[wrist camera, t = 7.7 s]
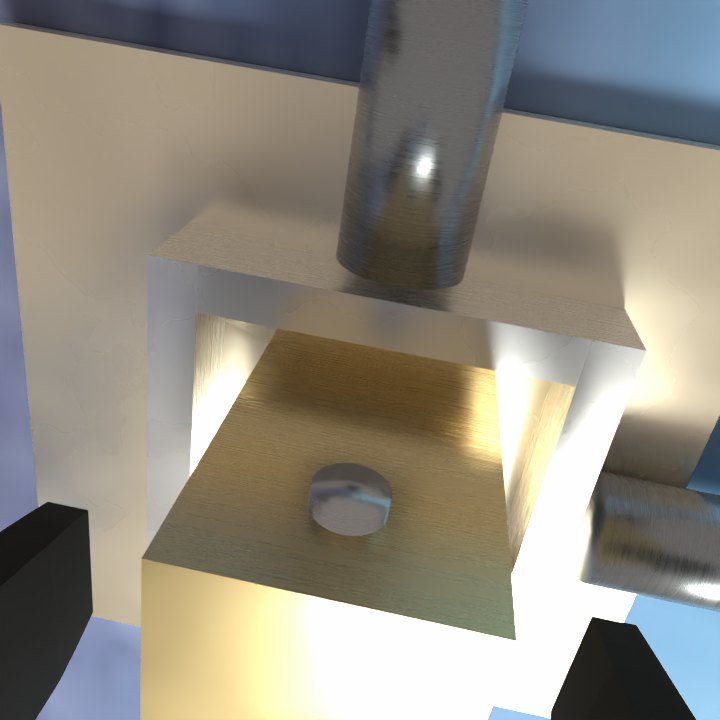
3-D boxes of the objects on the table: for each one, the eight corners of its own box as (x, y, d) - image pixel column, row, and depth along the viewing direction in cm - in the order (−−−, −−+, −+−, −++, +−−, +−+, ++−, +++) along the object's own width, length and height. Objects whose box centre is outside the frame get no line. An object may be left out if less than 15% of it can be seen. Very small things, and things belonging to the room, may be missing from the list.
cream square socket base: (60, 588, 17) (-2, 676, 15) (1, -148, 10) (-131, -191, 8) (696, 728, 17) (733, 843, 14) (1114, 32, 9) (1321, 40, 7)
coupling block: (258, 508, 15) (140, 793, 9) (280, 311, 12) (141, 537, 7) (445, 548, 14) (432, 863, 9) (499, 356, 12) (523, 620, 7)
